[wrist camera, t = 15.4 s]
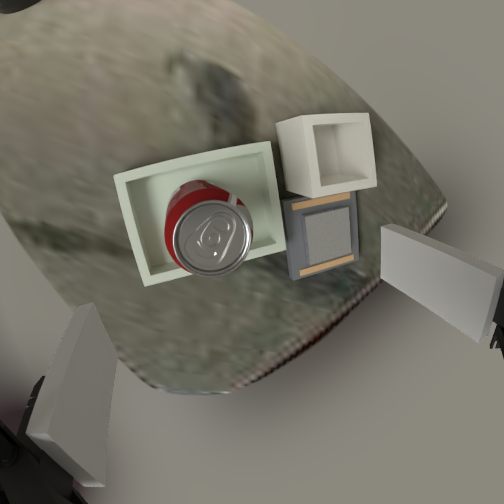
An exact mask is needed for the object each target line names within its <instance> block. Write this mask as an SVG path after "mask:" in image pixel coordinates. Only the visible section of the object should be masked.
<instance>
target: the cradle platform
mask: <svg viewBox="0 0 504 504" xmlns="http://www.w3.org/2000/svg"><path fill="white" fill-rule="evenodd" d="M301 216H302V224H303V233H304V242H305V251H306V261H307V263H308V264H310V265H312V264H315V263H319V262H322V261H326V260H329V259H332V258H336V257H339V256H342V255H346V254H349V253H351V237H350V220H349V207H346V206H341V207H336V208H332V209H327V210H323V211H318V212H314V213H309V214H305V215H301Z"/></svg>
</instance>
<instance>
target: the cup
mask: <svg viewBox="0 0 504 504" xmlns="http://www.w3.org/2000/svg"><path fill="white" fill-rule="evenodd" d="M275 126H276V132H277V138H278V144H279V150H280V156H281V162H282V169H283V175H284V182H285V189H286V191H290V192H293V193H296V194H300V195H303V196H306V197H310V198H318V197H323V196H328V195H333V194H339V193H344V192H349V191H354V190H360V189H365V188H371V187H376V186H377V180H376V168H375V158H374V149H373V140H372V133H371V125H370V119H369V113H336V114H316V115H301V116H298V117H294V118H291V119H288V120H284V121H281V122H278V123H275Z"/></svg>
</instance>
